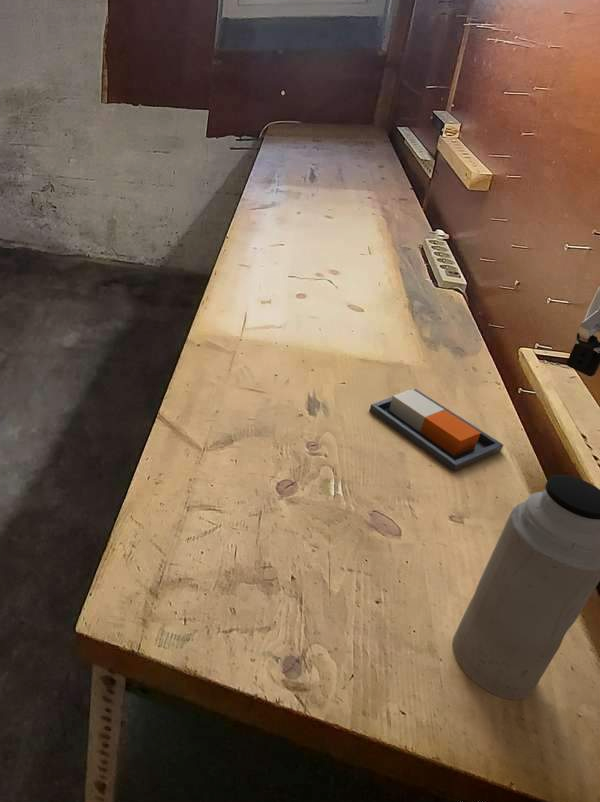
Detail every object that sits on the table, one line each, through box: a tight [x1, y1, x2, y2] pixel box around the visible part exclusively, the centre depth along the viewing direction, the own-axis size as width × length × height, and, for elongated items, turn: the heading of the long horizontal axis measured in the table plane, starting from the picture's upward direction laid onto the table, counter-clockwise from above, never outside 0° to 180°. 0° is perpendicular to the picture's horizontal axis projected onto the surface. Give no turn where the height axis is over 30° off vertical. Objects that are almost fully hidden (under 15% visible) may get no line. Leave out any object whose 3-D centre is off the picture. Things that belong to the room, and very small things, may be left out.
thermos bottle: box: [451, 474, 600, 701], centre depth 60 cm, size 8×8×28 cm
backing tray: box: [369, 388, 504, 473], centre depth 101 cm, size 12×17×2 cm
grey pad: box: [389, 388, 444, 432], centre depth 103 cm, size 5×6×4 cm
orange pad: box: [420, 410, 481, 457], centre depth 98 cm, size 5×6×4 cm
